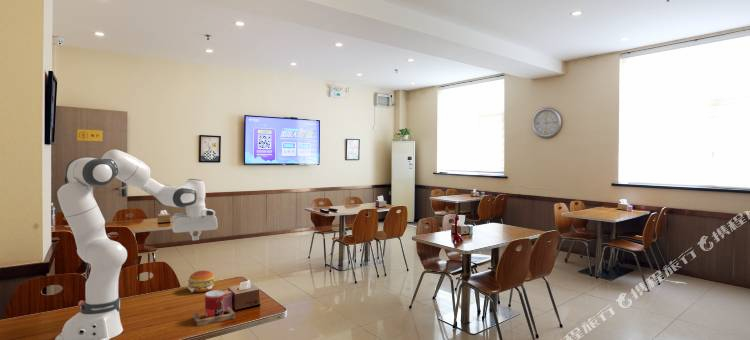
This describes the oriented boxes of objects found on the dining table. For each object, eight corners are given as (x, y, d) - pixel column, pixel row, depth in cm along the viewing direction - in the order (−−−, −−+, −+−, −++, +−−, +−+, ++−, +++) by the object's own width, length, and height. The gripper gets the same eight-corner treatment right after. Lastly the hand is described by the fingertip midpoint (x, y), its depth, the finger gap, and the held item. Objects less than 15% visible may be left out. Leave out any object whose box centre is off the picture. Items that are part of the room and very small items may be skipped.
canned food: (217, 321, 181) (217, 296, 181) (201, 319, 183) (201, 295, 182) (226, 314, 189) (227, 290, 188) (211, 312, 190) (211, 289, 190)
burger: (220, 288, 224) (220, 270, 224) (200, 295, 212) (200, 276, 211) (202, 284, 230) (202, 266, 229) (181, 291, 217) (181, 272, 217)
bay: (197, 325, 176) (197, 321, 176) (193, 317, 184) (193, 313, 184) (235, 318, 185) (235, 314, 185) (230, 310, 193) (230, 306, 193)
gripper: (172, 214, 192) (172, 243, 193) (218, 211, 203) (218, 239, 204) (171, 212, 197) (171, 240, 198) (215, 209, 208) (215, 236, 209)
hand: (195, 240), depth 201 cm, fingers closed
